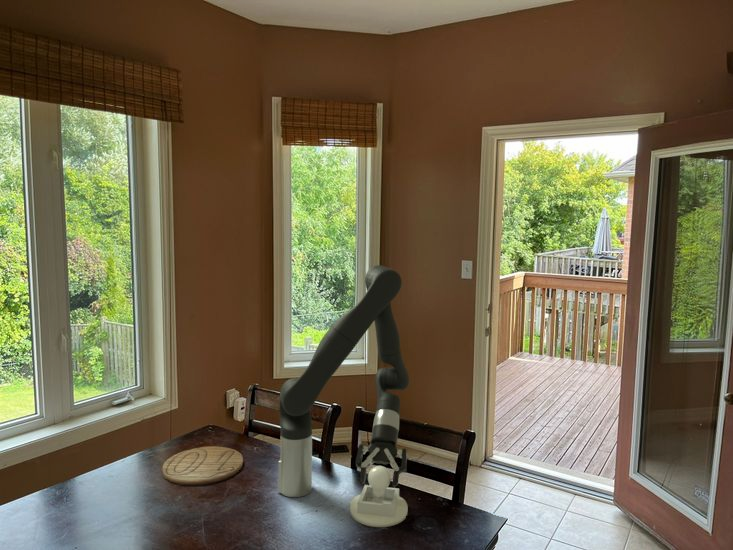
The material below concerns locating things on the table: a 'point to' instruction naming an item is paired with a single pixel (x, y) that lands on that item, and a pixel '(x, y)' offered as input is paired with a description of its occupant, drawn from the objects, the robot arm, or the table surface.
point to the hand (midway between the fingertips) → (378, 484)
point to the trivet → (202, 465)
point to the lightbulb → (379, 482)
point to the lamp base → (379, 508)
